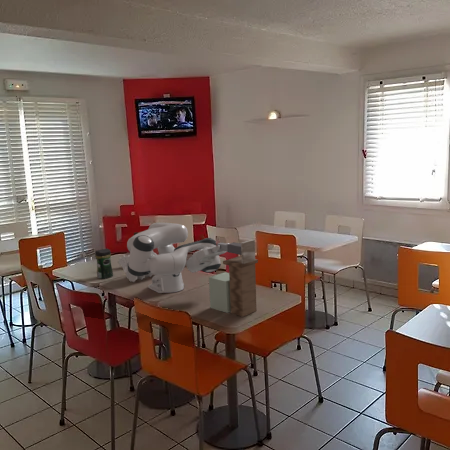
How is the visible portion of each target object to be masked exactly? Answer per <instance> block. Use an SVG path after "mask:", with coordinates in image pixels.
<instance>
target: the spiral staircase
mask: <svg viewBox="0 0 450 450" xmlns="http://www.w3.org/2000/svg"><path fill="white" fill-rule="evenodd" d="M152 255H158V254H157V253H156V252H154V251H153V253H152ZM129 256H130V254H127V255H126V256H125V254H123V255H122V256H121V257H120V256H119V257H118V261H117V264H118V265H119V266H121V268H122V270H123V272H124V273H125V275H126V276H125V277H126V278H127V279H128V280H129V281H130V282H132V283H135V282H136V280H140V281H143V280H144V279H145V278H149V277H150V278H151V277H153V276H155V275H156V274H153V273H151V272H150V273H149V274H147V275H144V276H134V275H132V274H130V273H129V272H128V262H129Z"/></svg>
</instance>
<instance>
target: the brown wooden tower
mask: <svg viewBox="0 0 450 450" xmlns="http://www.w3.org/2000/svg"><path fill="white" fill-rule="evenodd" d="M255 242H256V241H255V239H250V240H246V241H242V242H240V243H241V255H239V256H236V257H231V258H230V259H226V260H223V261H222V264H223V265H225V266H228V273H229V279H230V303H231V312H230V314H232V315H236V316H239V317H246V316H248V315H251V314H253V313H255V312H257V310H258V309H257V285H256V284H257V281H256V278H257V277H256V264H257V263H258V262H259V259H257V258H256V244H255Z"/></svg>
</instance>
